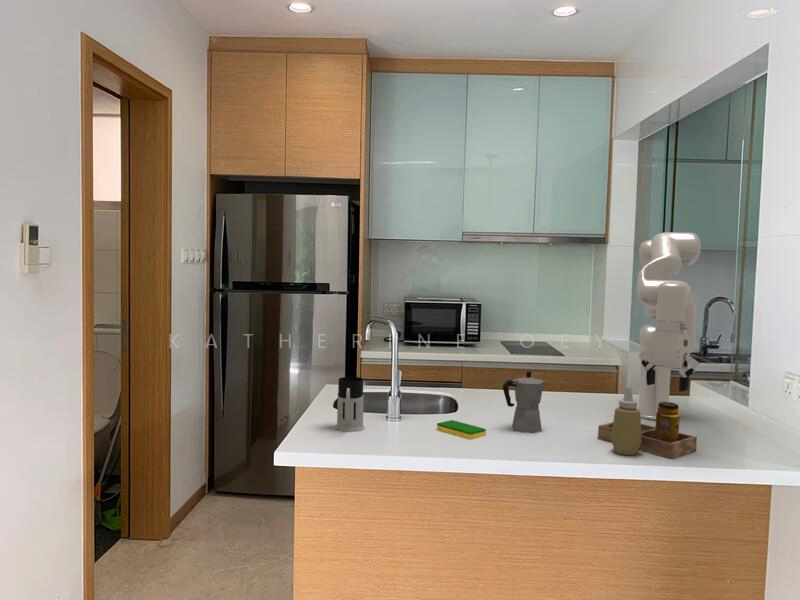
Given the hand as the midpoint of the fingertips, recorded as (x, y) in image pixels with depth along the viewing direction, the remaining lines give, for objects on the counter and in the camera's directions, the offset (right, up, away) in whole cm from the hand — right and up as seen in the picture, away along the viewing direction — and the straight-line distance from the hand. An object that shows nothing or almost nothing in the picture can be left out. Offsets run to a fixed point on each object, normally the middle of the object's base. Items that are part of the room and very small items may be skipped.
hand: (666, 387), depth 181 cm
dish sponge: (-56, -16, +14) cm, 60 cm away
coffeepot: (-36, -16, +19) cm, 44 cm away
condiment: (0, -17, +1) cm, 17 cm away
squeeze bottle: (-12, -18, -3) cm, 22 cm away
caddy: (-4, -17, +5) cm, 18 cm away
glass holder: (-90, -15, +13) cm, 92 cm away
